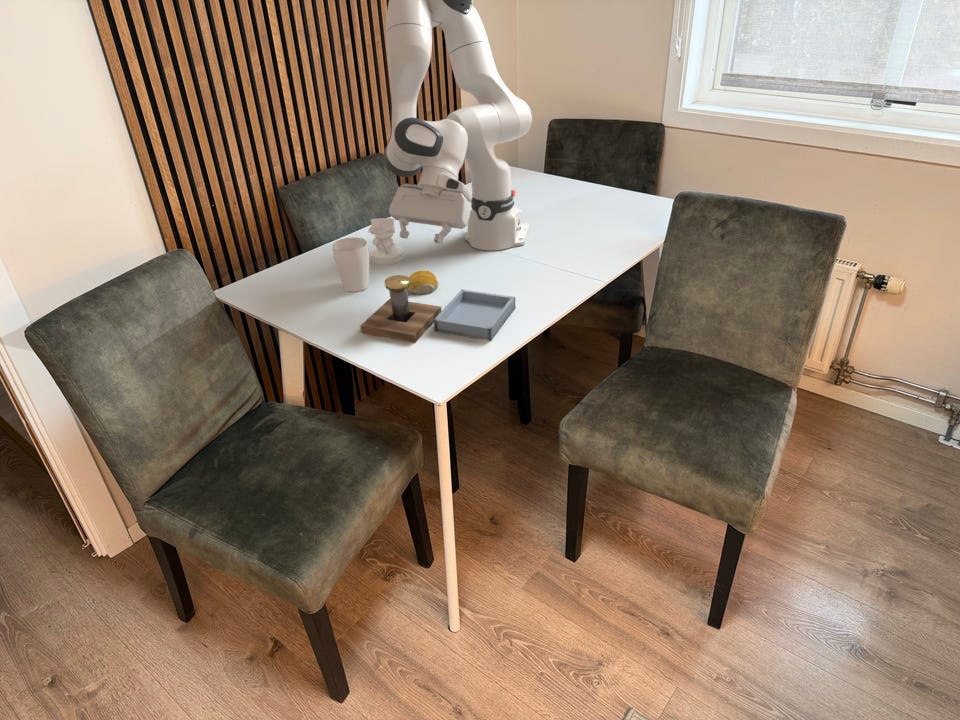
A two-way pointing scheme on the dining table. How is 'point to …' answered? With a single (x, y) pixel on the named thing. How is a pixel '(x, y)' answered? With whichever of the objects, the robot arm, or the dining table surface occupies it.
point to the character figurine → (384, 242)
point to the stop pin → (399, 297)
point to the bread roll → (422, 282)
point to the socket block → (405, 331)
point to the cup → (352, 263)
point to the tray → (475, 314)
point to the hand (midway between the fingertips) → (420, 240)
